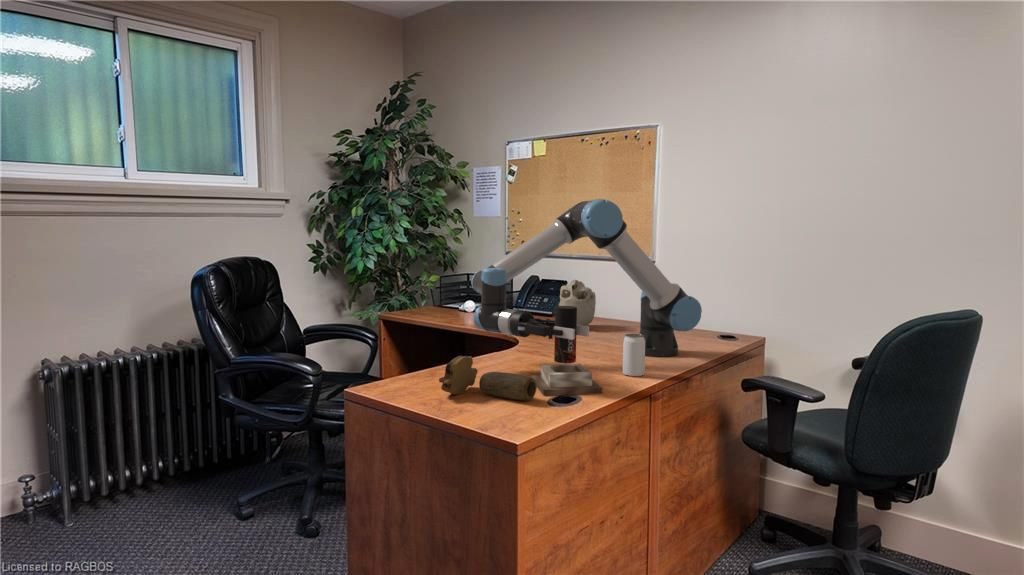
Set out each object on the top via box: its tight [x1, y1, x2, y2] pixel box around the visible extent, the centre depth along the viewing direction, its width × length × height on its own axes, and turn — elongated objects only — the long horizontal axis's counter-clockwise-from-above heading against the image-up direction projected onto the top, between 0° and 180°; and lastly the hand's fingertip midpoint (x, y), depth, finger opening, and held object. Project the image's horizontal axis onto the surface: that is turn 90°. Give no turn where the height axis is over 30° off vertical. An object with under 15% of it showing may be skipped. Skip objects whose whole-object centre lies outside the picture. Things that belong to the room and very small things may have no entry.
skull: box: [558, 279, 597, 326], centre depth 267 cm, size 20×15×22 cm
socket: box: [531, 363, 603, 397], centre depth 168 cm, size 16×16×5 cm
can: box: [622, 333, 646, 377], centre depth 183 cm, size 6×6×12 cm
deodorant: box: [553, 305, 577, 364], centre depth 167 cm, size 6×6×15 cm
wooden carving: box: [438, 355, 479, 396], centre depth 161 cm, size 16×5×10 cm, turn 159°
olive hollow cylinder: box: [478, 371, 537, 402], centre depth 157 cm, size 15×7×7 cm, turn 60°
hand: (581, 332), depth 164 cm, fingers closed on deodorant, 6 cm apart
